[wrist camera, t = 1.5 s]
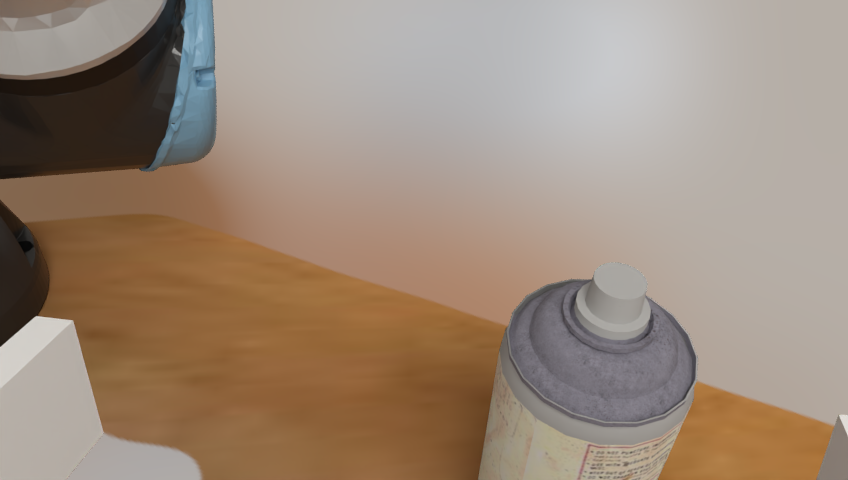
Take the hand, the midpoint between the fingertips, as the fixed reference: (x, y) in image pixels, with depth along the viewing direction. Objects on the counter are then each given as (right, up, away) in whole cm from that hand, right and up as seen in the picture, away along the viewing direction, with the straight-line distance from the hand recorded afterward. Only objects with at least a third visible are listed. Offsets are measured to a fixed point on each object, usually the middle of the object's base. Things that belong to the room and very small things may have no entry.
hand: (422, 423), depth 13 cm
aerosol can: (+5, -13, +24) cm, 28 cm away
